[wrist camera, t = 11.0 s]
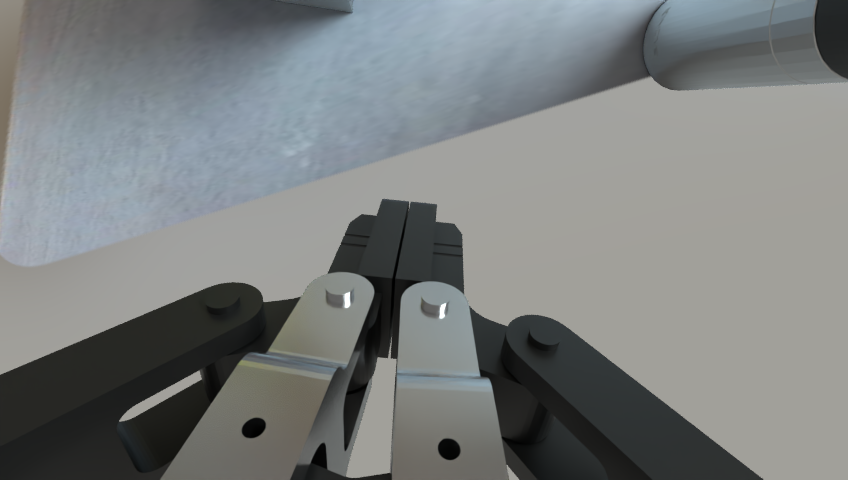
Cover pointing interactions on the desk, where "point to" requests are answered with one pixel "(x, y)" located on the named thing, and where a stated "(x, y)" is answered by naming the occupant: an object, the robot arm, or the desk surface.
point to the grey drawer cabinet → (325, 4)
